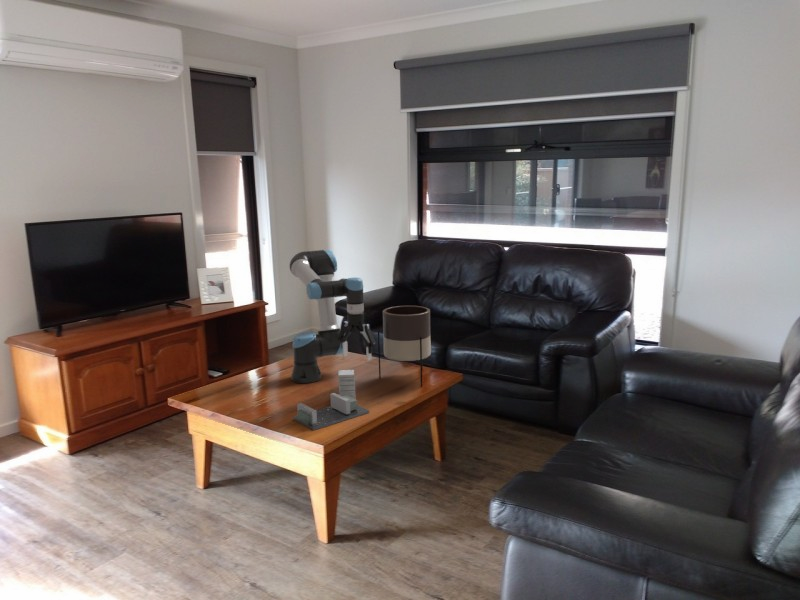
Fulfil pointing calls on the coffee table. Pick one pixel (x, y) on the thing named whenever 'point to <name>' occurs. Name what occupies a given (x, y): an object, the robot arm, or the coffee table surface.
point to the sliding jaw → (343, 403)
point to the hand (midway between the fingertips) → (357, 358)
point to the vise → (324, 416)
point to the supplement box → (346, 383)
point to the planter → (406, 334)
